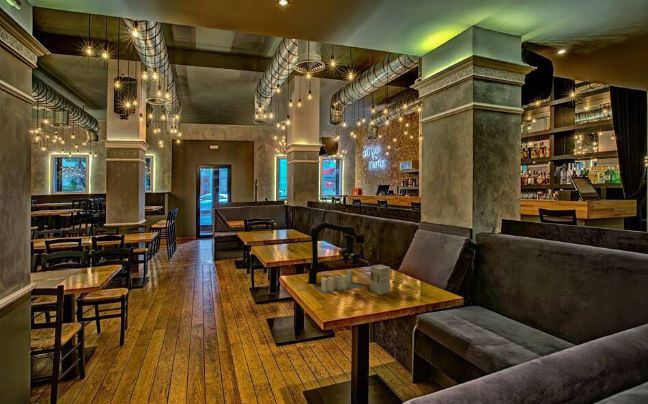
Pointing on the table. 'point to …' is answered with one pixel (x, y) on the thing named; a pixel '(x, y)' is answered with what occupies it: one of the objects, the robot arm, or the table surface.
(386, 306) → the table surface
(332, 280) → the domino
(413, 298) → the table surface
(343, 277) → the domino
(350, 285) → the mat
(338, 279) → the domino
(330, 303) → the table surface
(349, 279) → the domino
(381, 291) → the supplement box
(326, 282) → the domino
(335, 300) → the table surface
